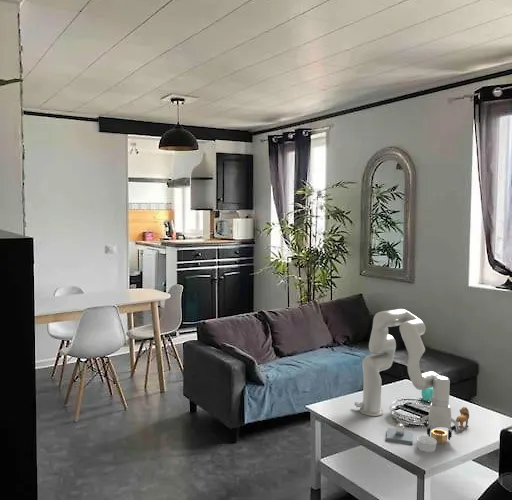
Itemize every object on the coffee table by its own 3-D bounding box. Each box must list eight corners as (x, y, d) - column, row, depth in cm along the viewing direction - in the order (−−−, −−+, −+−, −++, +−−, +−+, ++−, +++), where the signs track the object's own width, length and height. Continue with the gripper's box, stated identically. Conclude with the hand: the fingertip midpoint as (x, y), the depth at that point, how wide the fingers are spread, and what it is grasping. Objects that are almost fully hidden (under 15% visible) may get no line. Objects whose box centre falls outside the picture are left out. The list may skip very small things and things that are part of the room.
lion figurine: (459, 421, 278) (460, 404, 277) (470, 423, 275) (470, 407, 275) (452, 431, 266) (453, 413, 265) (464, 433, 263) (465, 416, 262)
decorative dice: (433, 397, 313) (434, 384, 312) (440, 402, 305) (441, 388, 304) (421, 397, 312) (421, 384, 311) (427, 402, 304) (427, 389, 303)
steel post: (395, 435, 256) (395, 425, 256) (395, 432, 260) (396, 422, 260) (404, 436, 255) (404, 426, 255) (404, 433, 259) (404, 423, 259)
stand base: (386, 440, 254) (386, 437, 254) (387, 430, 265) (387, 427, 265) (412, 444, 250) (412, 441, 250) (412, 434, 262) (413, 431, 262)
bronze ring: (431, 442, 253) (431, 434, 253) (431, 436, 260) (431, 428, 259) (446, 444, 251) (447, 436, 251) (446, 438, 258) (446, 430, 257)
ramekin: (426, 443, 252) (426, 434, 252) (440, 450, 245) (441, 441, 244) (412, 446, 248) (412, 437, 248) (426, 454, 240) (427, 445, 240)
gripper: (421, 402, 253) (420, 438, 254) (460, 407, 248) (458, 443, 249) (421, 397, 260) (420, 431, 261) (459, 401, 255) (457, 436, 256)
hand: (439, 437), depth 255 cm, fingers open, 8 cm apart
